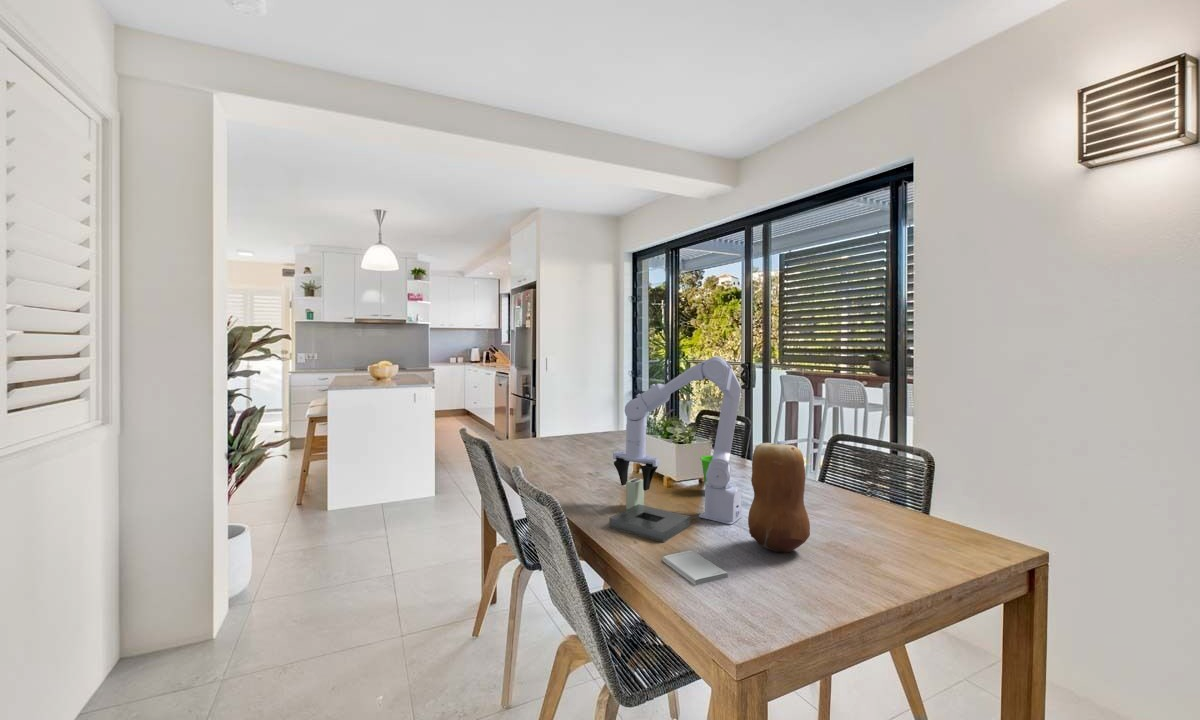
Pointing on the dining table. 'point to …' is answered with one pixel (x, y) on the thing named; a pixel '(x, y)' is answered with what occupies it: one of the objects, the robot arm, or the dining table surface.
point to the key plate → (650, 522)
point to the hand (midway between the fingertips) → (635, 487)
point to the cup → (706, 464)
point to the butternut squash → (778, 498)
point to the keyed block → (634, 492)
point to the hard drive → (694, 567)
